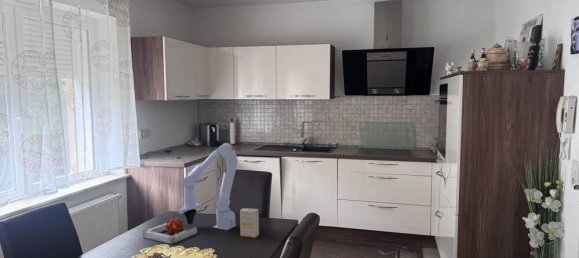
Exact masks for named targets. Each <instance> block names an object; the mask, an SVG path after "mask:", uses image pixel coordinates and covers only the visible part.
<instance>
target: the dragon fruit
mask: <svg viewBox="0 0 579 258" xmlns="http://www.w3.org/2000/svg"><path fill="white" fill-rule="evenodd" d="M166 223H167V224H166V227H165V228H166V229H167V230H166V231H167V233H168V235H170V236H172V235H175V234H177V233H180V232H182V231H185V230H184V227H185V226H184V224H183V219H180V218H179V217H171V218H170V220H167V222H166Z"/></svg>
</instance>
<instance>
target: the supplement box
mask: <svg viewBox="0 0 579 258" xmlns="http://www.w3.org/2000/svg"><path fill="white" fill-rule="evenodd" d="M259 217H260V216H259V208H249V207H248V208H247V207H243V208H241V209H240V210H239V222H240V223H239V226H240V227H239V229H240V230H239V231H240V233H239V234H240V237H246V238H252V239H253V238H254V239H256V238H257V237H258V236H259V235H260V228H259V227H260V226H259V225H260V224H259V222H260V221H259Z"/></svg>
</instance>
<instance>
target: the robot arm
mask: <svg viewBox="0 0 579 258" xmlns="http://www.w3.org/2000/svg"><path fill="white" fill-rule="evenodd" d="M219 158H223V159H225V161H226V162H227V168H226V172H225V176H224V179H223V184H222V187H221V193H220V195H219V198H218V201H217V202H216V203H215V208H216V210H215V212H216V213H215V214H216V220H215V221H216V225H214V226H213V225H212V228H214V229H219V230H224V231H228V230H231V229H232V228H235V227H237V225H236V214H235V212H234V211H232V210H231V208H230V203H231V199H230V198H231V192H232V186H233V182H234V179H235V174H236V171H237V166H238V161H239V160H238V159H239V158H238V156H237V154H236V151H235V148H234V146H232V144H231V143H228V142H224V143H223V144H221V145H220V146H219V147H218V148H216V149H215V150H213V151H212V152H211V153H210V155H209V156H208V157H207V158H205V160H204V161H203V162H202V163H201V164H197V165H194V166H193V169H192V170H191V171H190V172H188V173H187V175H186V176H185V177H184V178H183V180H182V185H183V200H184V201H183V202H184V204H183V206H182V207H181V208H180V209H178V214H179V215H183V214H184V216H185V219H186V221H187V224H188V225H193V224H194V219H195V216H196V214H197V212H198V210H197V209H198V208H201V207H202V205H201V203H199V202H198V203H196V185H195V184H196V183H197V181H199V180H200V179H201V178H202V177H203V176H204V175H205V174H206V172H207V170H206V169H207V168H208V167H209V166H210V165H211V164H212V163H213V162H214V161H215V160H216V159H219Z"/></svg>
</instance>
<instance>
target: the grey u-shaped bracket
mask: <svg viewBox="0 0 579 258" xmlns="http://www.w3.org/2000/svg"><path fill="white" fill-rule="evenodd" d="M166 224H167V222H164V223H162V224H160V225H157V226H155V227H151V228H148V229H146V230H143V231H142V239H146V240H152V241H155V242H160V243H166V244H171V245H173V244H175V243H178V242H180V241H182V240H185V239H187V238H189V237H191V236H194V235H196V234H197V233H198V227H196V226H192V227H190V228H188V229H185V230H183V231H181V232H180V233H177V234H175V235H172V236H171V235H170V234H165V233H163V232H166V231H167V229H166V228H165V227H166Z"/></svg>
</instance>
